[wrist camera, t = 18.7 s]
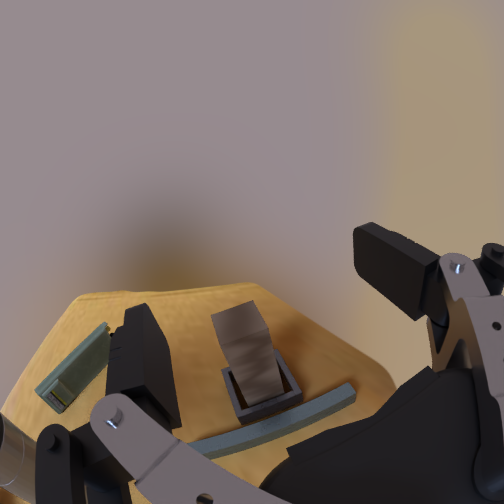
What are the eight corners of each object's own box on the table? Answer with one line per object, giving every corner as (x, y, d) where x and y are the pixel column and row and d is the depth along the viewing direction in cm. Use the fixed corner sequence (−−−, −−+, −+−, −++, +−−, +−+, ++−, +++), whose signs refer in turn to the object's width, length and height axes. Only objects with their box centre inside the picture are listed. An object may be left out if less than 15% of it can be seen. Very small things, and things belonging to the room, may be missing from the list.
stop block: (250, 410, 32) (219, 345, 26) (240, 384, 36) (210, 315, 30) (285, 397, 33) (268, 327, 26) (272, 372, 37) (252, 300, 31)
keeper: (192, 463, 26) (184, 458, 25) (178, 393, 36) (171, 384, 35) (354, 401, 30) (356, 392, 28) (313, 344, 40) (312, 333, 39)
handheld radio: (54, 408, 34) (131, 329, 52) (61, 417, 33) (140, 334, 51) (32, 387, 31) (117, 305, 49) (38, 396, 29) (126, 309, 48)
